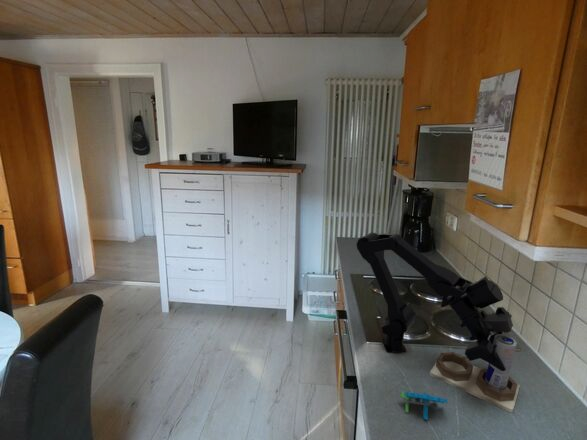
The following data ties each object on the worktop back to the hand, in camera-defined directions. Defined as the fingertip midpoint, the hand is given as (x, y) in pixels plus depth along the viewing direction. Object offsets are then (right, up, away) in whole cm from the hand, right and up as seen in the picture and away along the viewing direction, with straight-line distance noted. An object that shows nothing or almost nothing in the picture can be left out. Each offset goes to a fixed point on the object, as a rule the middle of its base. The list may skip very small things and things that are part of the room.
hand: (506, 364), depth 92 cm
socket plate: (-5, -8, +7) cm, 11 cm away
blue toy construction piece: (-23, -11, -2) cm, 26 cm away
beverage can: (-1, -7, +3) cm, 8 cm away
